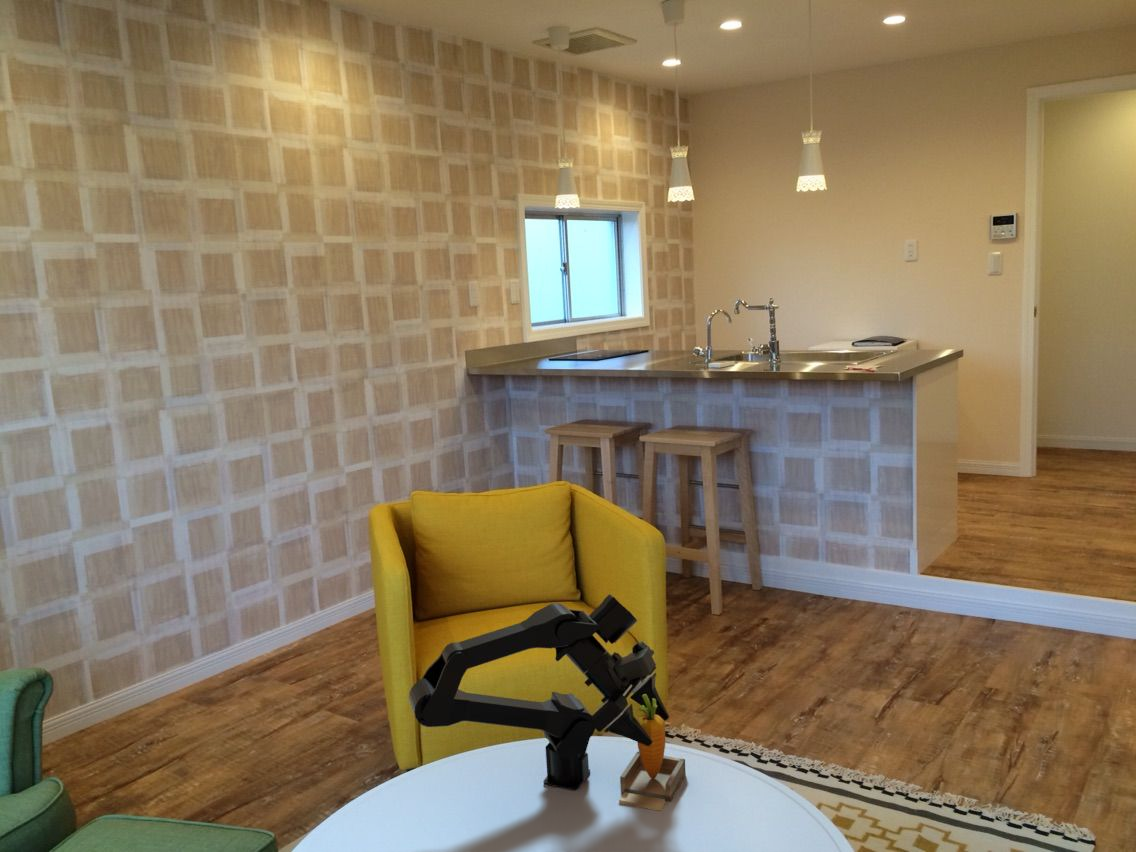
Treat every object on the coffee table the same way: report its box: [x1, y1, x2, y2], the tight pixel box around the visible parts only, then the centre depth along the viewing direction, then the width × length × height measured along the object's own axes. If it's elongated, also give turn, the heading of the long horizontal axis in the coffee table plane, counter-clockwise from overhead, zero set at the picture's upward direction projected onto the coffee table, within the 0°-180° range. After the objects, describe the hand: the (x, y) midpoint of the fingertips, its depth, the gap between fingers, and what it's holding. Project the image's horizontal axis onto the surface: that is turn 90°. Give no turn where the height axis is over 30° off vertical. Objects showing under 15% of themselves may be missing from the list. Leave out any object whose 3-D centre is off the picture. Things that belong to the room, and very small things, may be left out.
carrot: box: [636, 694, 666, 779], centre depth 158 cm, size 5×5×15 cm
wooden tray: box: [618, 751, 687, 812], centre depth 158 cm, size 9×12×3 cm
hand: (659, 731), depth 158 cm, fingers open, 9 cm apart
